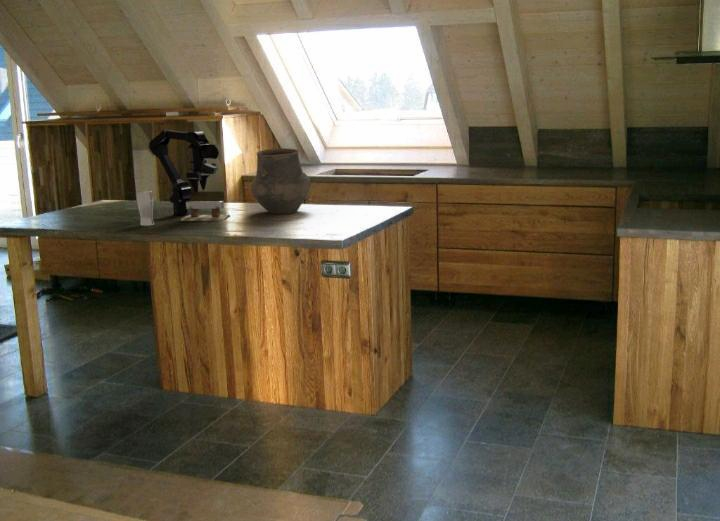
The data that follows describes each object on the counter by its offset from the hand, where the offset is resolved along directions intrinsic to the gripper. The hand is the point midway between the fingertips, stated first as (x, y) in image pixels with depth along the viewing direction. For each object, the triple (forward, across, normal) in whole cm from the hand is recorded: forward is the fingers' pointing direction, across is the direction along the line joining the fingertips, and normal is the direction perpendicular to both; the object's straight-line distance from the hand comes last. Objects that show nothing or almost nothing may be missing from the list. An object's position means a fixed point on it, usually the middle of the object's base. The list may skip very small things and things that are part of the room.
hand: (200, 191), depth 393 cm
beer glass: (+12, -25, +16) cm, 32 cm away
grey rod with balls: (+7, -8, -5) cm, 12 cm away
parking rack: (+12, -8, -5) cm, 15 cm away
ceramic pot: (+12, +10, -37) cm, 40 cm away
